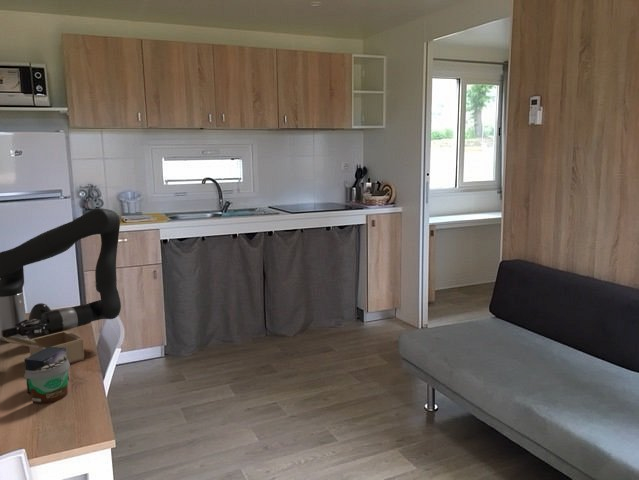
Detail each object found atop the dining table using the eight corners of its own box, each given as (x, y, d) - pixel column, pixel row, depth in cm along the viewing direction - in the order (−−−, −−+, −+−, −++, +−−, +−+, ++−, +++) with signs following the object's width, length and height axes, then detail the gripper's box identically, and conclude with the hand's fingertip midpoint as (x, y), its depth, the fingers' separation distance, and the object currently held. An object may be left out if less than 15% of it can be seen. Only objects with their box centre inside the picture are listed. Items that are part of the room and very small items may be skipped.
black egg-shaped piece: (33, 351, 187) (28, 309, 184) (25, 343, 194) (20, 303, 192) (63, 343, 193) (59, 303, 191) (54, 336, 201) (50, 298, 198)
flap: (26, 341, 175) (-4, 334, 169) (26, 339, 176) (-3, 332, 169) (38, 349, 168) (8, 342, 161) (39, 347, 168) (9, 340, 161)
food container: (40, 410, 142) (36, 375, 141) (27, 405, 146) (23, 370, 144) (81, 392, 153) (78, 359, 151) (69, 387, 156) (65, 355, 154)
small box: (46, 395, 152) (42, 360, 150) (26, 393, 153) (22, 359, 151) (70, 379, 162) (66, 346, 160) (51, 378, 163) (48, 345, 161)
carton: (30, 359, 179) (27, 339, 178) (68, 348, 188) (66, 329, 187) (47, 370, 169) (44, 350, 167) (86, 359, 178) (84, 339, 176)
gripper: (50, 306, 181) (-7, 318, 169) (66, 313, 172) (8, 326, 160) (53, 327, 182) (-4, 341, 170) (69, 335, 174) (11, 350, 161)
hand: (2, 334), depth 165 cm, fingers closed
